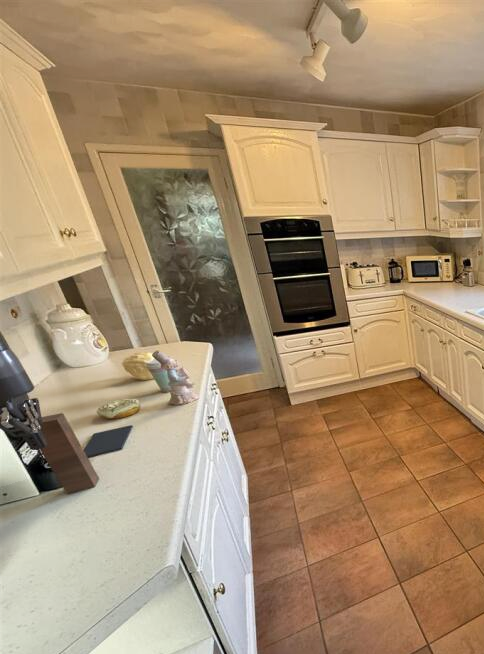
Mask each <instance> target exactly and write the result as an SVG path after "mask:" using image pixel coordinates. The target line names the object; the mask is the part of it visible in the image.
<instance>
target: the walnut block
mask: <svg viewBox="0 0 484 654" xmlns="http://www.w3.org/2000/svg"><path fill="white" fill-rule="evenodd" d="M41 417H42V423H41V424H40V426H41V429H40V431H41V433H42V434H43V436H44V438H45V439H46V441H47V443H48V444H47V445H46V446H45V447H44V448H41V449H39V451H40V452H41V454H42V456H43V458H44V459H45V460H46V462H47V464H48V465H49V467H50V469H51V471H52V472H53V474H54V475H55V477H56V479H57V481H58V482H59V484H60V485H61V487H62V489H63V490H64V492H65V494H66V495H70V494H74V493H78V492H82V491H85V490H89V489H93V488H96V486H97V484H98V482H99V480H100V477H99V475H98V473H97V471H96V469H95V468H94V466H93V465H92V463H91V460H90V458H88V457H87V455H86V454H85V452H84V448H83V446H82V444H81V443H80V441H79V439H78V437H77V436H76V434H75V432H74V430H73V428H72V427H71V425H70V423H69V421H68V419H67V418H66V416H65V414H64V413H63V412H60V413H54V414H49V415H45V416H44V415H43V416H41Z"/></svg>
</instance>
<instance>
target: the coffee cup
mask: <svg viewBox="0 0 484 654" xmlns="http://www.w3.org/2000/svg"><path fill="white" fill-rule="evenodd" d="M173 360H175V359H174V358H173ZM146 368H147V369H149V371H150V373H151V374H152V376H153V379H154V381H155V383H156V384H157V387H158V388H159V389H160V391H161V392H162V393H170V390H172V388H171V387H170V386H169V385H168V382H169V379H168V376H167V370H164V369H162V368H161V363H159V362H158V361H157V360H156V359H151V360H149V361H147V362H146ZM176 370H178V368H176Z"/></svg>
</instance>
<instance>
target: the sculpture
mask: <svg viewBox="0 0 484 654" xmlns="http://www.w3.org/2000/svg"><path fill="white" fill-rule="evenodd" d="M153 353H154V352H149V351H147V352H134V354H131V355H130V356H127V357H125V358H124V359H123V361H122V363H121V365H122V367H123V369H124V371H126V372H127V373H129V374H130V376H132V377H133V378H135V379H137V380H141V381H146V380H147V381H149V380H152V379H154V378H153V376H152V374H151V373H150V371H149V369H147V368H146V362H147V361H149V360H151V359H155V358H154V357H153V356H152V354H153Z"/></svg>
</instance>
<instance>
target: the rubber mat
mask: <svg viewBox="0 0 484 654" xmlns="http://www.w3.org/2000/svg"><path fill="white" fill-rule="evenodd" d="M132 429H133V424H130V425H125V426H120V427H118V428H112V429H108V430H103V431H99V432H95V433H93V434H92V436H91V437H90V439H89V440H88V441H87V443H86V445H85V446H84V448H83V450H84V452H85V454H86V455H87V457H88V459H90V458H92V457H97V456H101V455H105V454H109V453H112V452H117V451H120V450H123V449H124V447H125V444H126V442H127V440H128V438H129V436H130V434H131V431H132Z"/></svg>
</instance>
